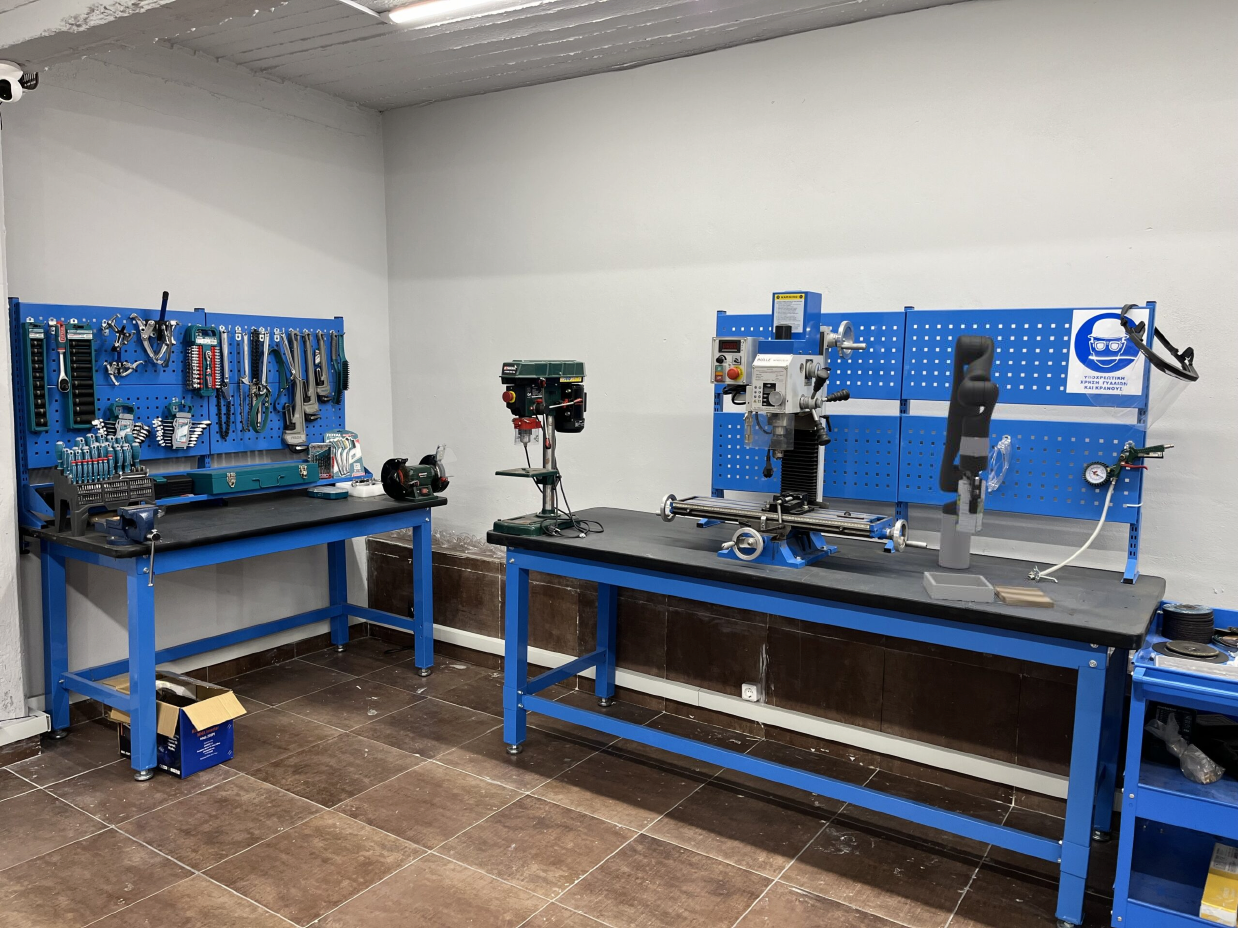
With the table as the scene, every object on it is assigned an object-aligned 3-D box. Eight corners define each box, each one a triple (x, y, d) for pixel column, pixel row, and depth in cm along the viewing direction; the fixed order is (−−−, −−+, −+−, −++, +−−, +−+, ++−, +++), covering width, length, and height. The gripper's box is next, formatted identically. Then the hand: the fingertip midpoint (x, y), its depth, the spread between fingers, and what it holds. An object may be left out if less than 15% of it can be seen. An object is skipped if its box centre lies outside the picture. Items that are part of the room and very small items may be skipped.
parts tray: (923, 585, 257) (924, 571, 256) (980, 589, 254) (981, 575, 254) (932, 598, 241) (933, 584, 241) (993, 602, 238) (994, 588, 238)
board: (992, 590, 252) (992, 585, 252) (1036, 593, 250) (1037, 588, 250) (1006, 604, 237) (1006, 599, 237) (1053, 608, 235) (1054, 602, 234)
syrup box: (961, 528, 249) (964, 477, 248) (982, 531, 246) (986, 480, 244) (954, 530, 245) (957, 479, 244) (975, 533, 241) (979, 481, 240)
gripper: (955, 450, 251) (951, 506, 252) (964, 454, 237) (960, 514, 239) (983, 451, 249) (979, 508, 251) (994, 456, 235) (989, 516, 237)
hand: (970, 511), depth 245 cm, fingers closed on syrup box, 7 cm apart
